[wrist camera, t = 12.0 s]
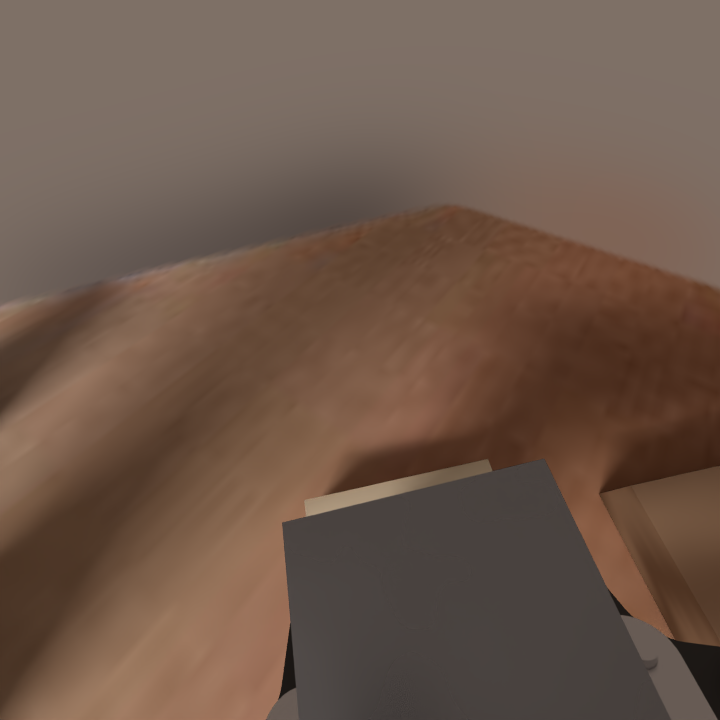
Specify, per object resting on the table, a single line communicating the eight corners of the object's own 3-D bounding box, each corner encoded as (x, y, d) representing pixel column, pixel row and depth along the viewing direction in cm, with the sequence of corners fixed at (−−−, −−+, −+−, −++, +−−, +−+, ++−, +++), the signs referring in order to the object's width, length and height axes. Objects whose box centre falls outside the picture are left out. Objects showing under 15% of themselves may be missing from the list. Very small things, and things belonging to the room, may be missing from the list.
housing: (505, 669, 14) (843, 1075, 3) (387, 699, 14) (341, 1205, 3) (454, 512, 17) (544, 458, 6) (357, 536, 17) (281, 522, 6)
